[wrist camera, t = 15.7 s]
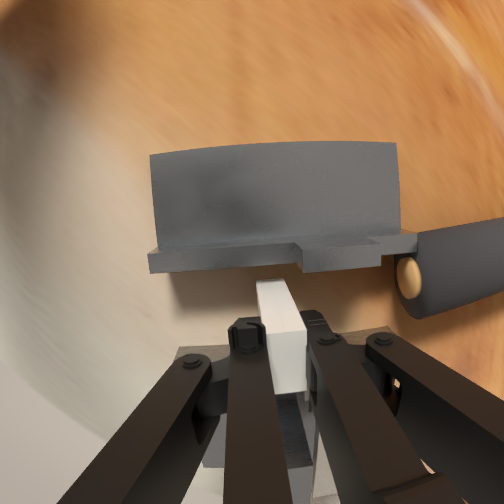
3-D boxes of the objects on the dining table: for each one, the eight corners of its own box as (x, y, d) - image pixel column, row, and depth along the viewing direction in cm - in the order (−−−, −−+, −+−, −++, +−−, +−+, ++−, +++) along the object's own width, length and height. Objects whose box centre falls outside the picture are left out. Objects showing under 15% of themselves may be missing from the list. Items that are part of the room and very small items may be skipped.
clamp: (205, 457, 21) (196, 526, 14) (155, 157, 17) (102, 137, 10) (369, 438, 21) (398, 499, 14) (387, 145, 17) (458, 126, 10)
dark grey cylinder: (398, 324, 18) (435, 315, 13) (381, 250, 19) (411, 222, 15) (542, 273, 18) (578, 257, 13) (527, 221, 19) (560, 199, 15)
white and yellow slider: (310, 487, 16) (320, 534, 12) (316, 402, 14) (335, 459, 10) (344, 480, 16) (359, 526, 12) (360, 394, 14) (388, 447, 10)
